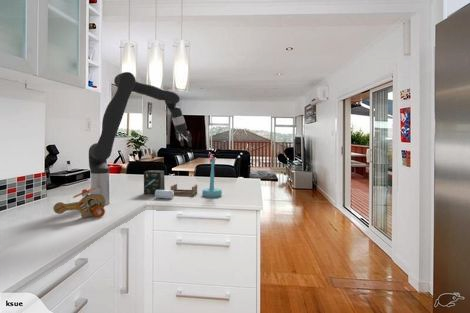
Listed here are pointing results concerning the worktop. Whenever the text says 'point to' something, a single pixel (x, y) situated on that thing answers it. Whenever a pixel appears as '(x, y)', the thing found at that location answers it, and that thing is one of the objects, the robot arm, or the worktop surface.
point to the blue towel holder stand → (212, 185)
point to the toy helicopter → (84, 205)
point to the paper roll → (164, 194)
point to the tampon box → (153, 181)
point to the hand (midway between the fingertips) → (186, 145)
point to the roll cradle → (184, 191)
